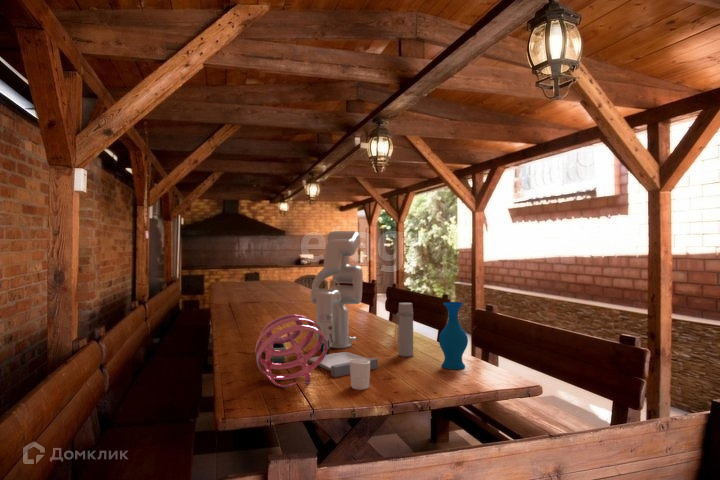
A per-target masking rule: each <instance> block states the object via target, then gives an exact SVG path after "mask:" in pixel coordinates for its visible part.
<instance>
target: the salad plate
mask: <svg viewBox="0 0 720 480" xmlns="http://www.w3.org/2000/svg"><path fill="white" fill-rule="evenodd" d="M320 356H321V355H319V356H313V357H312V358H310V359H309V360H308V361H309V362H310V363H311V364H313V363H314V362H315V361H316V360H317V359H318V358H319V357H320ZM355 358H365V359H369V358H367V357H365V356H361V355H359V354H354V353H352V352H348V351H343V352H335V353H328V355H325V357H324V359H323V360H322V362H321V363H320V364H319V365H318V366H317V367H321V368H322V369H325V370H328V371H330V372H331V366H333V365H338V364H343V363H348V362H350V360H351V359H355Z"/></svg>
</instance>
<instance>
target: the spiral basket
mask: <svg viewBox="0 0 720 480" xmlns="http://www.w3.org/2000/svg"><path fill="white" fill-rule="evenodd" d="M292 322H295V323H296V324H295V325H291V326H287V327H284V328H282V329H280V330H278V331H276V332H275V333H273V332H272V330H274V329H276V328H278V327H279V326H282V325H285V324H288V323H292ZM303 322H306V323H307V324H303ZM316 326H317V328H316ZM303 331H305V332H306V331H307V332H308V333H307V334H306V336H305V338H304V339H303V340H302V341H300V342H299V343H297V342H296V338H298V337H299V336H300V335H301V333H302V332H303ZM316 333H318V334H319V338H318V341H317V340H316V343H315V344H314V346H313V347H312V349H311V350H310V351H308V352H307V353H306V354H303V352H302V351H303V349H305V347H307V346H308V345H309V344H310V342H311V341H312V339H313V337H314V335H315V334H316ZM285 335H286V336H285ZM265 336H266V337H267V338H266V339H265V340H263V339H264V337H265ZM281 336H282V337H281ZM323 338H324V340H325V347H324V350H323V352H322V354H321V353H320V355H319V356H320V357H319V358H318V359H317V360H316V361H315V362H314V363H311V364H310V365H309V364H308V361H309V359H310V358H312V357H315V355H316V354H317V352H319V350H321V348H320V347H321V345H322V342H323ZM275 343H279V344H280V343H285V344H286V343H291V345H292V346H291V347H290V348H286V350H273V345H274V344H275ZM269 344H270V345H269ZM327 349H328V342H327V338H326V336H325V334H324V333H323V332H322V330H321V328H320V326H319V325H318V324H317V323H316V321H314V320H313V319H310V318H308V317H306V316H305V315H301V314H294V313H293V314H292V313H290V314H283V315H282V316H278V317H276V318H275V319H273V320H271V321H270V322H269V323H267V324H266V325H265V326H264V327H263V329H262V331H261V332H260V334H259V337H258V339H257V342H256V344H255V351H254V352H255V356H256V364H257V368H258V369H259V371H260V372H261V374H262V375H263V376H264V377H266V378H267V379H268V380H269V381H270V382H271V383H272V384H273V385H274V386H277V387H279V388H282V389H283V388H284V389H286V388H287V389H288V388H292V387H293V386H295V385H297V382H293V383H289V384H280V383H278V382H277V381H287V380H293V379H297V378H300V377H304V379H305V380H304V384H305V385H307V386H308V385H309V384H310V383H311V382H312V377H311V376H312V375H311V372H312V371H313V370H314V369H315V368H317V367H319V366H318V365H319V364H320V363H321V362H322V360H323V359H324V357H325V355H326V353H327ZM328 350H329V349H328ZM263 353H264V354H265V359H263V358H262V354H263ZM291 355H296V359H295V360H292V361H288V362H284V363H272V360H271V357H272V356H274V357H283V356H285V357H288V356H291ZM261 365H262V366H263V367H264V369H265V370H264V369H263V368H262V366H261ZM299 366H300V368H301V369H300V370H299V371H297V372H293V373H289V374H274V373H272V370H287V369H292V368H295V367H299Z"/></svg>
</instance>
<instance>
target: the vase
mask: <svg viewBox="0 0 720 480" xmlns="http://www.w3.org/2000/svg"><path fill="white" fill-rule="evenodd" d="M443 305H444V306H445V308H446V309H447V312H448V318H447V323H446V325H445V326H444V327H443V329H442V330H441V332H440V333H439V335H438V336H439V337H438V344H439V346H440V348H441V351H442V352H443V356H444V360H443V362H442V364H441V367H442V368H444V369H447V370H453V371H454V370H455V371H456V370H463V369H465V368H466V365H465V363H464V362H463V355H464V353H465V351H466V349H467V346H468V342H469V339H468V335H467V333H466V331H465V330H464V329H463V327H462V325H461V324H460V322H459V321H460V320H459V316H458V315H459V310H460V308H461V307H462V306H464V302H459V301H457V302H456V301H447V302H443Z"/></svg>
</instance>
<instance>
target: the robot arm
mask: <svg viewBox="0 0 720 480" xmlns="http://www.w3.org/2000/svg"><path fill="white" fill-rule="evenodd" d="M326 237H327V238H326V239H327V243H326V246H325V255H324V262H323V267H322V269H321V270H320V271H319V272H318V273H317V274H316V276H315V277H314V279H313V281H312V283H311V292H310V300H311V303H313V304H314V305H315V307H316V308H315V309H316V310H315V311H316V313H315V314H316V315H315V316H316V317H315V322H316V323H317V324H318V325H319V326H320V328H321V330H322V332H323V333H324V334H325V336H326V338H327V342H328V349H327V353H326V355H328V354H329V349H330V348H331V349H332V348H333V349H346V348H350V347H352V345H353V344H352V343H351V342H352V341H357V337H356V336H352V337H351V336H350V335H349V327H350V326H349V324H350V323H349V321H350V320H349V310H348V308H347V306H346V305H359V304H360V303H361V302H362V297H363V281H364V280H363V279H364V278H363V277H364V275H363V273H364V272H363V269H362V267H361V266H360V265H358V264H357V265H356V264H350V257H353V256H354V255H355V254H356V252H357V249H358V247H359V246H360V243H361V235H360V233H359V232H358V231H356V230H355V231H354V230H353V231H352V230H344V231H343V230H335V231H331V232H329V233H328V234H327V236H326ZM329 277H332V280H333V282H334V283H339V285H333V286H331V287H330V288H320V286H321V284H322V282H323V281H324V280H325V279H327V278H329ZM340 284H342V285H340ZM343 284H352V285H343ZM315 327H316V328H317V326H316V325H315ZM318 338H319V334H318V333H316V332H315V340H316V342H317V341H318ZM324 347H325V340H324V338H323V342H322V345H321V347H320V355H321V354H322V352H323V350H324Z"/></svg>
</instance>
